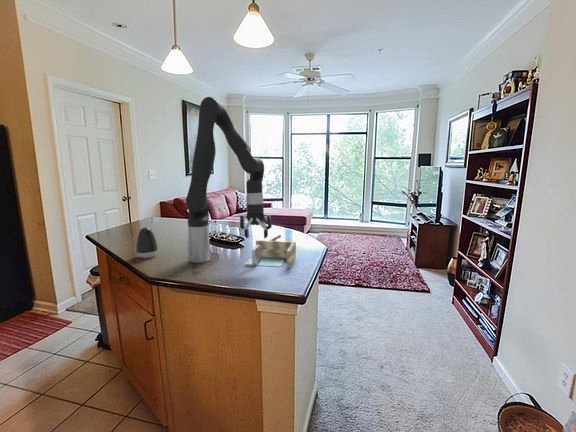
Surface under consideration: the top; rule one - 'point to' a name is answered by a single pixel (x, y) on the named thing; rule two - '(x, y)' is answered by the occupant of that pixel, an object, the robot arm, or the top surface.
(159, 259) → the top surface
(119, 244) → the top surface
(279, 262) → the pad
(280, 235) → the wall
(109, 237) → the top surface
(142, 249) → the dark gray tapered dome
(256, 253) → the bracket
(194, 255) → the robot arm
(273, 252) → the arena
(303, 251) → the top surface
